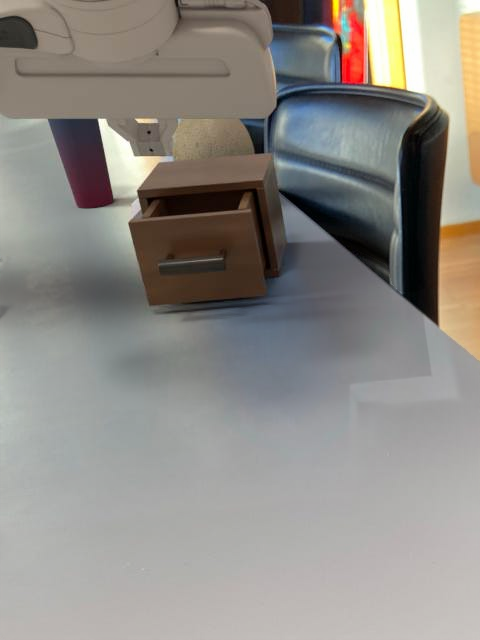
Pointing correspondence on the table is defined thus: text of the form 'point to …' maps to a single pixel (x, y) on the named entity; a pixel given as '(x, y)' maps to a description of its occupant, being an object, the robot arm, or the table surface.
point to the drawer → (201, 247)
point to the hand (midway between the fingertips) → (154, 149)
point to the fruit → (210, 139)
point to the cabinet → (226, 177)
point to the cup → (83, 160)
